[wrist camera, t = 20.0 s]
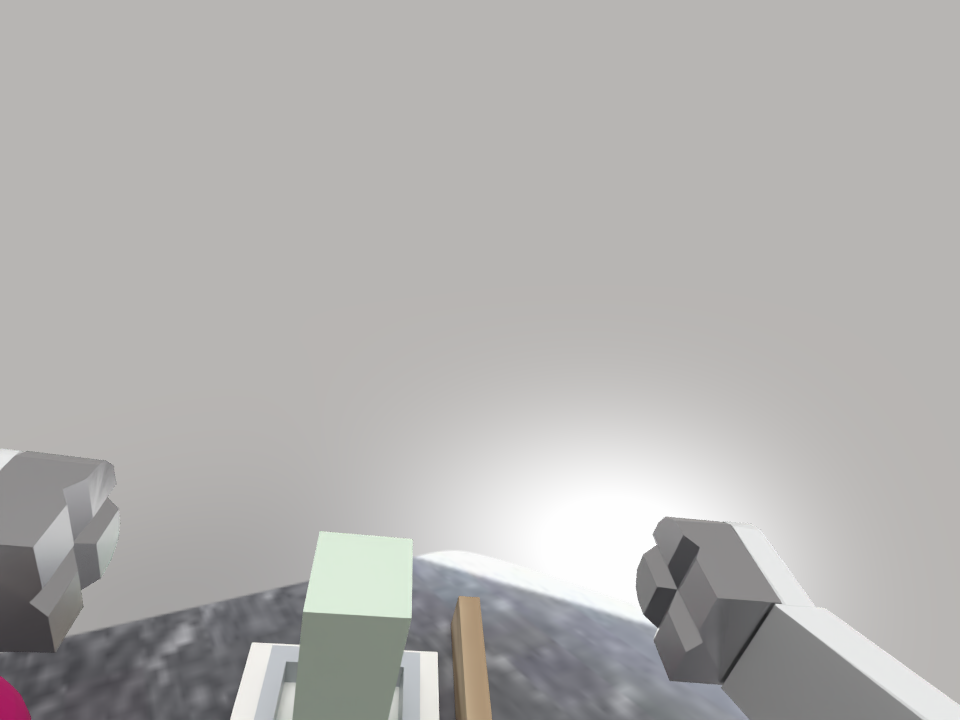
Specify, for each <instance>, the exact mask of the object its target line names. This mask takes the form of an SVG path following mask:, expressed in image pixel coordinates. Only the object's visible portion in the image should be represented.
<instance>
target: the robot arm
mask: <svg viewBox="0 0 960 720" xmlns="http://www.w3.org/2000/svg"><path fill="white" fill-rule="evenodd" d="M115 485H116V479H115V472H114V466H113V465H112V464H111V463H109V462H108V461H105V460H97V459H89V458H81V457H72V456H64V455H56V454H48V453H39V452H30V451H26V452H23V451H16V450H9V449H0V652H40V653H55V652H56V650H57V649H58V647H59V646H60V644H61V642H62V641H63V639H64V637H65V636H66V634H67V632H68V631H69V629H70V628H71V626H72V624H73V623H74V621H75V619H76V618H77V616H78V615H79V613H80V611H81V610H82V608H83V601H82V593H81V590H82V589H84V588H85V587H87V586H89V585H90V584H92V583H94V582H95V581H97V580H98V579H100V578H101V577H102V575H103V573H104V572H105V570H106V568H107V566H108V565H109V563H110V561H111V559H112V556H113V553H114V550H115V547H116V544H117V541H118V537H119V528H120V515H119V509H118V507H117V506H116V505H115V504H114V503H112V501H111V500H110V499H109V498H108V496H109V494H110V493H111V491H112V490H113V488H114V487H115ZM653 536H654V539H655V542H656V544H657V545H656V546H655V547H653V548H652V549H651V550H649V551H648V552H646V553H645V554H644V555H643V557H642V559H641V562H640V564H639V566H638V569H637V578H636V590H637V596H638V601H639V604H640V606H641V609H642V612H643V615H645V616H646V617H647V618H648V619H649V620H650V621H651V622H652V623H653V624H654V625H655V626H656V627H657V631H656V634H655V637H654V643H655V645H656V648H657V650H658V653H659V655H660V658H661V660H662V663H663V665H664V668H665V670H666V673H667V675H668V678H669V680H670V681H677V682H690V683H703V684H717V685H722V687H721V688H722V689H723V691H724V692H725V693H726V694H727V695H728V696H729V697H730V698H731V699H732V701H733V702H734V703H735V704H736V705H737V706H738V707H739V708H740V709H741V711H742V712H743V713H744V714H745V715H746V716H747V717H748V718H749V719H750V720H960V705H959V704H957V703H956V702H955V701H953V700H952V699H951V698H949V697H948V696H946V695H945V694H944V693H942V692H941V691H939V690H938V689H937V688H935V687H934V686H932V685H931V684H930V683H928V682H927V681H926V680H924V679H923V678H921V677H920V676H919V675H917V674H916V673H914V672H913V671H912V670H910V669H909V668H908V667H906V666H905V665H903V664H902V663H900V662H899V661H898V660H896V659H895V658H894V657H892V656H891V655H889V654H888V653H887V652H885V651H884V650H883V649H881V648H880V647H878V646H877V645H876V644H874V643H873V642H871V641H870V640H868V639H867V638H866V637H864V636H863V635H861V634H860V633H859V632H858V631H856V630H855V629H853V628H852V627H851V626H849V625H848V624H846V623H845V622H844V621H842V620H841V619H840V618H838V617H837V616H835V615H834V614H832V613H831V612H830V611H828V610H827V609H826V608H821V607H815V605H814V604H813V603H812V601H811V600H810V598H809V597H808V595H807V594H806V593H805V591H804V590H803V588H802V587H801V586H800V584H799V583H798V581H797V580H796V579H795V577H794V576H793V574H792V573H791V572H790V570H789V569H788V567H787V566H786V564H785V563H784V562H783V560H782V559H781V557H780V556H779V555H778V553H777V552H776V550H775V549H774V548H773V546H772V545H771V543H770V542H769V541H768V539H767V538H766V537H765V535H764V533H763V532H762V531H761V530H760V529H759V528H757V527H756V526H754V525H753V524H749V523H748V524H747V523H736V522H718V521H706V520H696V519H685V518H674V517H665V518H664V519H662V520H661V521H660V522H659V523H658V525H657V527H656V529H655V531H654V533H653Z"/></svg>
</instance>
